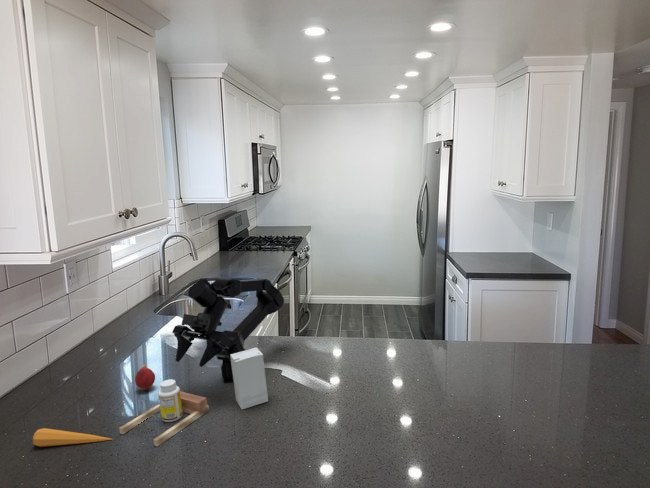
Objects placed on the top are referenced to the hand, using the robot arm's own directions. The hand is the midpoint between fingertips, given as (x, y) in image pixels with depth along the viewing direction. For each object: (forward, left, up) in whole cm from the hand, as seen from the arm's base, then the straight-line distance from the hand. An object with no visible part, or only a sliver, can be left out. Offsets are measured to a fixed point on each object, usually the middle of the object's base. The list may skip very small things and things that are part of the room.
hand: (188, 363), depth 130 cm
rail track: (+6, +8, -12) cm, 16 cm away
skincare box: (-17, +4, -13) cm, 21 cm away
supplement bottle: (+5, +6, -13) cm, 15 cm away
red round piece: (+15, -14, -12) cm, 24 cm away
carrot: (+28, +11, -13) cm, 33 cm away
